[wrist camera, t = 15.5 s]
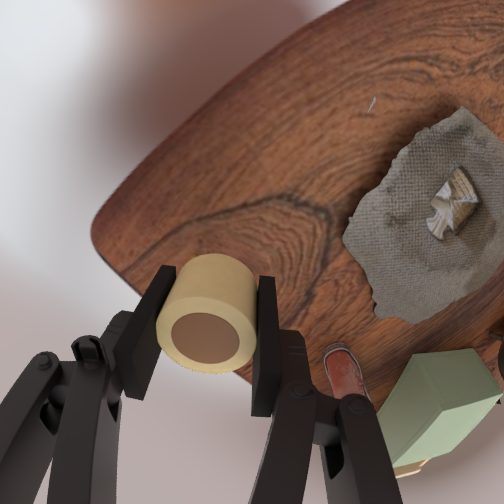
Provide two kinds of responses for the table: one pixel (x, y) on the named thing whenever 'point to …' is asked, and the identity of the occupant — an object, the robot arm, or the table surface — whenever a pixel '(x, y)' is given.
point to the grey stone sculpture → (433, 220)
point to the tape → (210, 315)
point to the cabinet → (436, 404)
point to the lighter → (343, 371)
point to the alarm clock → (500, 352)
